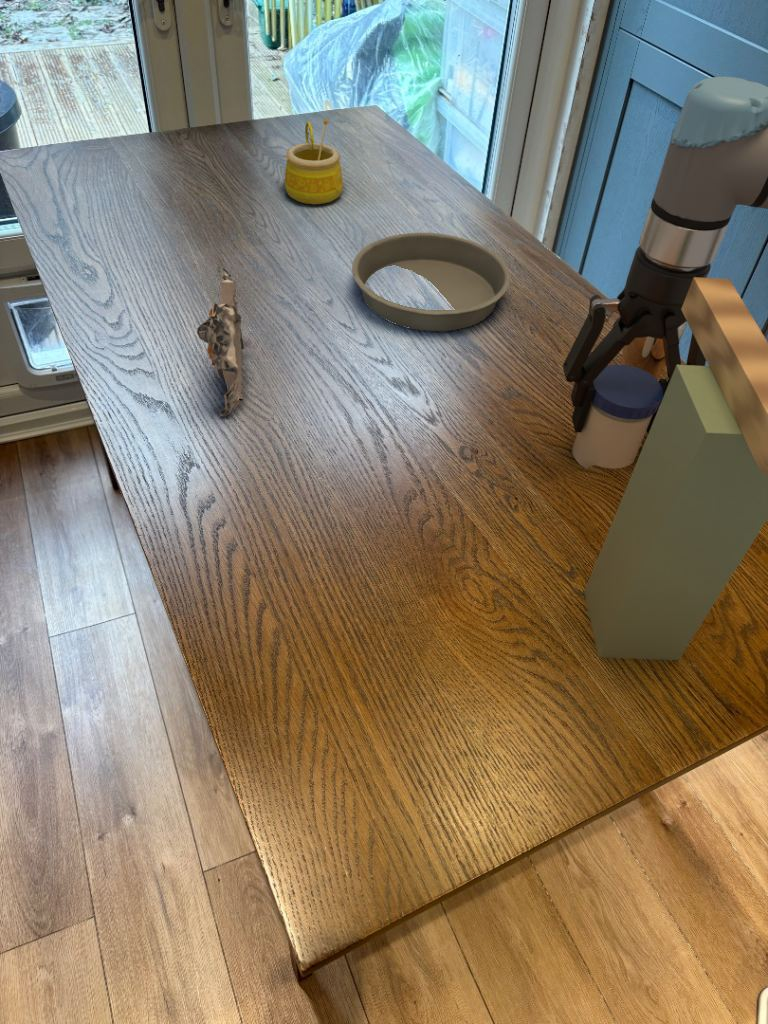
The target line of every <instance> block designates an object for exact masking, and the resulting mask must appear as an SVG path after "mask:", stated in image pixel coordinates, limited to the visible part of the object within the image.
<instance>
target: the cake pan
mask: <svg viewBox="0 0 768 1024" xmlns="http://www.w3.org/2000/svg"><path fill="white" fill-rule="evenodd" d="M392 265H396V266H399V267H401V268H404V269H408V270H412V271H413V272H415V273H416V274H418V275H421V276H423V277H424V278H426V279H427V280H428V281H430V282H431V283H432V284H433V285H434V286H435V287H436V288H437V289H438V290H439V292H440V293H441V294H442V295H443V296H444V297H445V298H446V299H447V301H448V302H449V303H450V304H451V306H452V307H453V308H454V309H455V310H425V309H417V308H412V307H407V306H403V305H400V304H396V303H393V302H391V301H388V300H386V299H384V298H382V297H380V296H378V295H377V294H375V293H374V292H372V291H371V290H370V289H368V288H367V287H366V286H365V283H366V281H367V280H368V278H369V277H370V276H371V275H372V274H374V273H375V272H376V271H378V270H380V269H382V268H384V267H387V266H392ZM351 272H352V276H353V278H354V281H355V283H356V284H357V286H358V287H359V288H360V289H361V292H362V296H363V299H364V302H365V301H366V302H365V303H366V305H367V304H368V305H367V306H368V307H369V309H370V308H371V309H372V310H373V311H374V312H373V311H372V310H371V309H370V310H371V311H372V312H373V313H375V312H376V313H377V314H378V315H377V314H376V313H375V314H376V315H377V316H379V315H380V316H381V317H380V316H379V317H380V318H382V317H383V318H385V319H387V320H389V321H391V322H393V323H392V324H394V323H396V324H398V325H397V326H399V325H401V326H400V327H402V326H405V327H404V328H406V327H409V328H408V329H410V328H413V329H412V330H415V329H419V330H418V331H421V330H425V331H424V332H433V331H442V332H451V331H450V330H453V331H458V330H457V329H459V330H462V329H461V328H463V329H466V328H465V327H467V328H469V326H470V327H473V326H475V325H477V324H479V323H481V322H483V321H484V320H486V317H487V316H488V317H489V316H490V315H491V314H492V313H493V311H494V310H495V307H496V305H497V301H499V300H500V299H501V298H502V297H504V295H505V294H506V292H507V291H508V289H509V287H510V284H511V275H510V274H511V273H510V271H509V268H508V266H507V265H506V263H505V262H504V261H503V259H501V257H500V256H498V255H497V254H496V253H495V252H493V251H492V250H490V249H488V248H487V247H485V246H483V245H481V244H480V243H477V242H475V241H472V240H469V239H466V238H462V237H459V236H456V235H451V234H444V233H435V232H408V233H400V234H395V235H390V236H386V237H383V238H381V239H378V240H376V241H373V242H371V243H370V244H368V245H366V246H365V247H363V248H362V249H361V250H360V251H359V252H358V253H357V254H356V256H355V257H354V259H353V262H352V265H351ZM488 317H487V318H488ZM383 318H382V319H383ZM385 319H384V320H385ZM387 320H386V321H387ZM389 321H388V322H389ZM480 321H481V322H480ZM391 322H390V323H391ZM396 324H395V325H396ZM474 324H475V325H474ZM472 325H473V326H472Z"/></svg>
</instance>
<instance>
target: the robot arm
mask: <svg viewBox="0 0 768 1024" xmlns="http://www.w3.org/2000/svg"><path fill="white" fill-rule="evenodd" d="M738 205H739V206H740V205H741V206H746V207H751V208H759V209H763V210H764V209H766V210H768V86H766V85H764V84H763V83H760V82H756V81H750V80H747V79H744V78H740V77H734V76H713V77H708V78H704V79H702V80H700V81H698V82H697V83H695V84H694V85H693V86H692V87H690V89H689V91H688V93H687V95H686V98H685V100H684V102H683V106H682V108H681V111H680V114H679V117H678V119H677V122H676V125H675V127H674V129H673V130H672V132H671V137H670V141H669V143H668V147H667V150H666V153H665V157H664V161H663V164H662V167H661V171H660V175H659V177H658V180H657V183H656V186H655V190H654V194H653V196H652V199H651V203H650V206H649V208H648V211H647V214H646V218H645V222H644V225H643V228H642V231H641V234H640V237H639V241H638V244H639V246H638V247H637V248H636V249H635V252H634V256H633V259H632V261H631V265H630V268H629V271H628V273H627V277H626V281H625V285H624V288H623V289H622V290H621V292H619V294H618V295H617V297H614V298H605V299H602V297H601V296H600V295H599V294H595V295H593V296H591V297H590V299H589V304H588V305H589V308H588V314H587V316H586V318H585V319H584V322H583V324H582V326H581V328H580V330H579V332H578V333H577V336H576V338H575V340H574V341H573V344H572V345H571V348H570V350H569V352H568V354H567V356H566V358H565V359H564V361H563V363H562V369H563V373H564V377H565V379H566V382H568V383H573V387H572V390H571V394H570V400H571V404H572V407H573V412H572V416H571V420H572V421H571V422H572V425H573V428H574V432H575V433H577V432H582V429H583V426H584V423H585V420H586V417H587V414H588V411H589V408H590V404H591V401H592V398H593V395H594V392H595V387H594V383H593V381H594V380H595V379H596V378H597V376H598V375H599V374H600V373H601V372H602V371H603V370H604V369H605V368H606V366H608V365H610V363H611V362H612V361H613V360H614V359H615V358H616V356H618V355H619V353H620V352H621V351H623V347H624V346H626V345H629V344H630V343H631V342H632V341H633V340H634V339H635V338H643V337H652V338H656V339H663V346H664V353H665V360H666V366H665V368H666V373H667V378H668V379H667V378H659V379H658V381H659V382H660V384H661V385H662V388H663V397H664V395H665V392H666V390H667V387H668V385H669V382H670V380H671V377H672V375H673V373H674V370H675V368H676V365H682V361H681V353H680V351H681V350H680V343H679V336H678V327H680V326H681V325H682V324H684V323H685V322H686V321H687V320H686V318H685V316H684V314H683V312H682V310H681V309H682V306H683V303H684V301H685V298H686V296H687V293H688V290H689V288H690V285H691V283H692V280H693V278H694V277H700V278H708V276H709V274H710V271H711V268H712V265H711V263H713V262H714V261H715V258H716V256H717V255H718V254H717V253H718V251H719V248H720V246H721V243H722V241H723V239H724V236H725V233H726V231H727V228H728V226H729V223H730V221H731V219H732V215H733V213H734V211H735V209H736V207H737V206H738ZM615 312H618V314H619V317H618V318H617V319H616V320H615V321H614V322H613V324H612V328H611V329H610V331H608V333H607V334H606V335H605V336H604V337H603V338H602V340H601V341H600V342H599V344H598V345H597V346H596V347H595V345H596V343H597V341H598V339H599V337H600V335H601V333H602V331H603V329H604V326H605V323H608V322H609V321H610V318H611V316H612V315H613V313H615ZM594 347H595V348H594ZM706 363H707V361H706V359H705V357H704V355H703V353H702V351H701V349H700V347H699V345H698V343H697V341H696V339H695V337H694V335H693V332H692V331H691V338H690V342H689V348H688V353H687V360H686V363H685V365H694V366H706ZM661 402H662V401H661ZM659 407H660V406H659ZM657 412H658V411H656V412H655V413H654V414H653V416H652V419H651V421H650V424H649V426H648V429H647V431H646V433H647V435H648V434H649V431H650V429H651V426H652V424H653V422H654V419H655V417H656V414H657Z"/></svg>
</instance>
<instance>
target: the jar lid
mask: <svg viewBox="0 0 768 1024" xmlns="http://www.w3.org/2000/svg"><path fill="white" fill-rule="evenodd" d="M593 383H594V387H595V392H594V395H593V398H592V402H593V403H594V405H595V406H597V407H598V408H599V409H600V410H602V411H604V412H605V413H607V414H609V415H612V416H615V417H618V418H623V419H631V420H636V419H643V418H647V417H649V416H651V415H653V414H654V413H655V412H656V411H658V409H659V406H660V404H661V401H662V399H663V388H662V385H661V384H660V382H659V379H658V380H657V379H656V378H655V377H654V376H652V375H651V374H649V373H648V372H646V371H644V370H642V369H639V368H636V367H633V366H628V365H621V364H608V365H607V366H606V368H605V369H604V370H603V371H602V372H601V373H600V374H599V375H598V376H597V378H596V379H595V380H594V381H593Z"/></svg>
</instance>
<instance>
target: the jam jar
mask: <svg viewBox="0 0 768 1024" xmlns="http://www.w3.org/2000/svg"><path fill="white" fill-rule="evenodd" d="M652 416H653V415H651V416H649V417H647V418H643V419H636V420H631V419H623V418H618V417H615V416H612V415H609V414H607V413H605V412H604V411H602V410H600V409H599V408H598V407H597V406H595V405H594V403H593V402H592V401H591V404H590V408H589V411H588V414H587V417H586V420H585V423H584V426H583V429H582V432H576V434H575V437H574V440H573V443H572V447H571V452H572V457H573V458H574V460H575V462H577V463H578V464H579V466H581V467H582V468H583V469H589V468H591V467H593V466H596V467H600V468H605V469H622V468H626V467H628V466H631V464H633V463H634V461H635V460H636V458H637V456H638V453H639V450H640V448H641V445H642V443H643V441H644V438H645V436H646V433H647V429H648V426H649V424H650V421H651V419H652Z"/></svg>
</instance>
